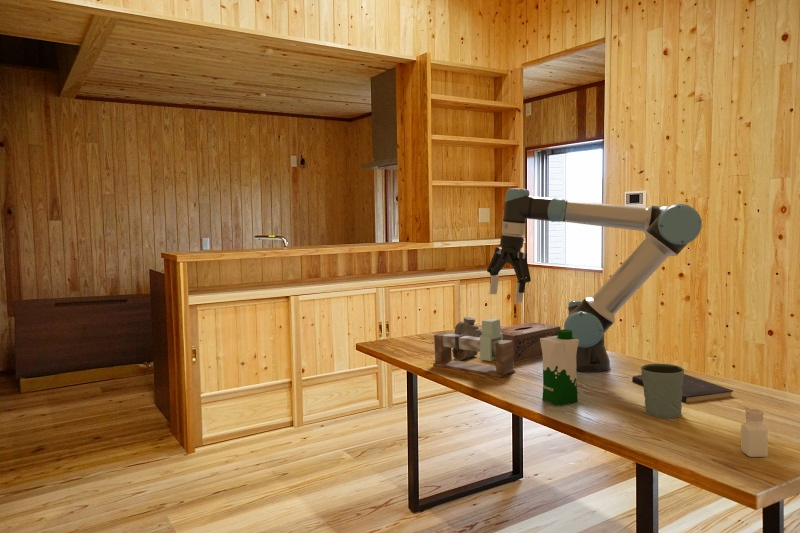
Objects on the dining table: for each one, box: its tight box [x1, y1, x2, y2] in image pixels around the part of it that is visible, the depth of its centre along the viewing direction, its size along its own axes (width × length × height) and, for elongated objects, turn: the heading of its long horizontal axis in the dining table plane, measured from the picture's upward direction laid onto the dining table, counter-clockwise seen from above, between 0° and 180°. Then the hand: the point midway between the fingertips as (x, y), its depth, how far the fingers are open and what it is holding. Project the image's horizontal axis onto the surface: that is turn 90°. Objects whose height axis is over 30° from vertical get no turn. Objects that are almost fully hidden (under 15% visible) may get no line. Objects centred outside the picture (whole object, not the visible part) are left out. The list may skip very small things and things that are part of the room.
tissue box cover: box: [500, 321, 562, 363], centre depth 225 cm, size 26×14×10 cm, turn 125°
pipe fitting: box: [454, 316, 482, 337], centre depth 252 cm, size 12×8×10 cm
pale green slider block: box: [479, 318, 503, 362], centre depth 199 cm, size 4×8×13 cm, turn 138°
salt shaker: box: [740, 408, 769, 458], centre depth 125 cm, size 4×4×10 cm
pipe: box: [451, 348, 479, 361], centre depth 226 cm, size 6×17×10 cm
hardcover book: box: [631, 373, 734, 404], centre depth 174 cm, size 16×23×2 cm
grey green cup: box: [640, 363, 685, 419], centre depth 153 cm, size 10×10×12 cm
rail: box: [433, 331, 516, 378], centre depth 205 cm, size 29×8×11 cm, turn 48°
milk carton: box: [540, 329, 579, 407], centre depth 166 cm, size 9×9×20 cm
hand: (505, 298), depth 197 cm, fingers open, 13 cm apart
